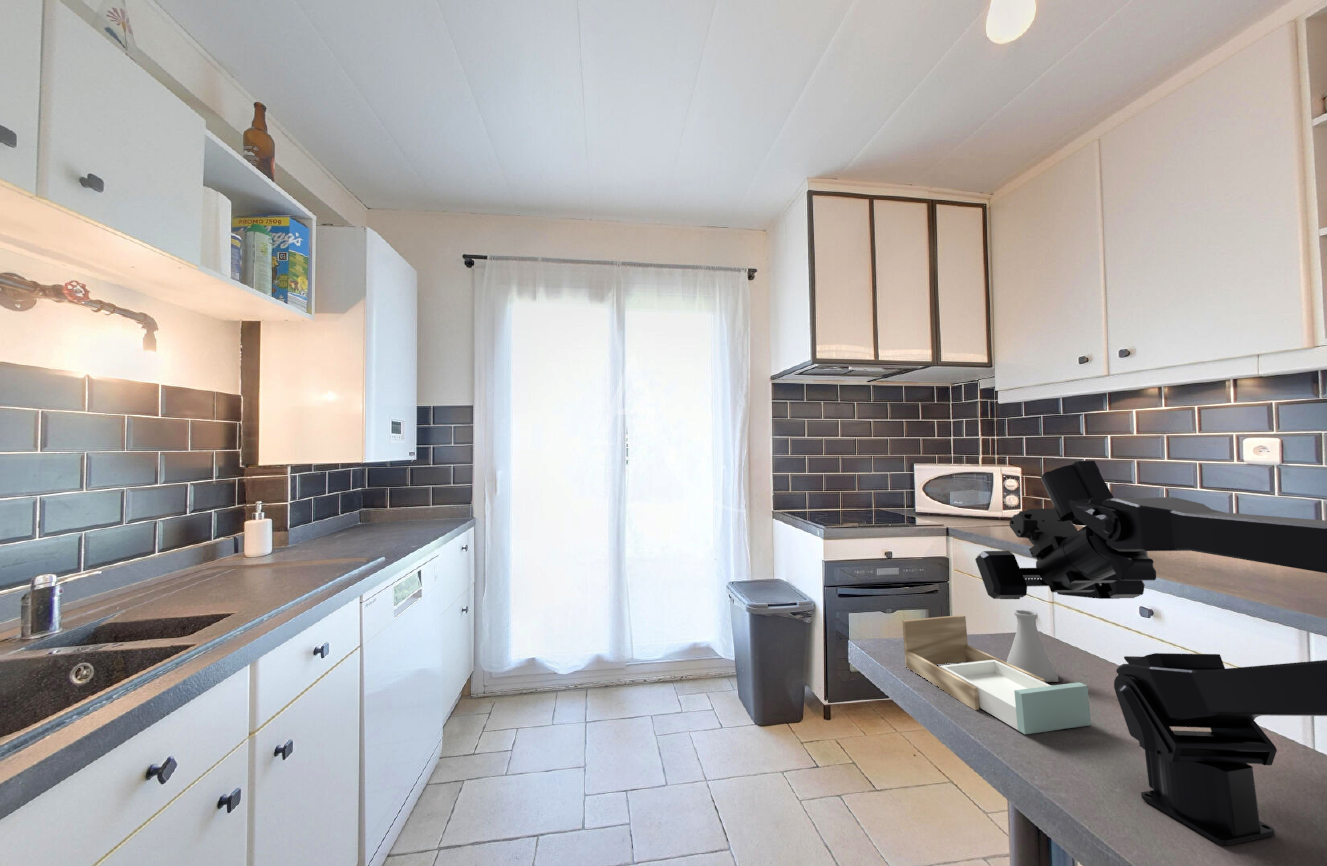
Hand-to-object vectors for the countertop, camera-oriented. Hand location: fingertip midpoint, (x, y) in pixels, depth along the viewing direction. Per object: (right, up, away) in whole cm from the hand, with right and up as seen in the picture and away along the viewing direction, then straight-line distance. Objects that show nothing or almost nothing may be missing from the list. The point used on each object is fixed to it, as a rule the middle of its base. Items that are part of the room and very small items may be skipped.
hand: (1024, 591), depth 71 cm
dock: (-6, -16, +3) cm, 17 cm away
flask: (+6, -16, +6) cm, 18 cm away
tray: (-5, -15, -3) cm, 16 cm away
